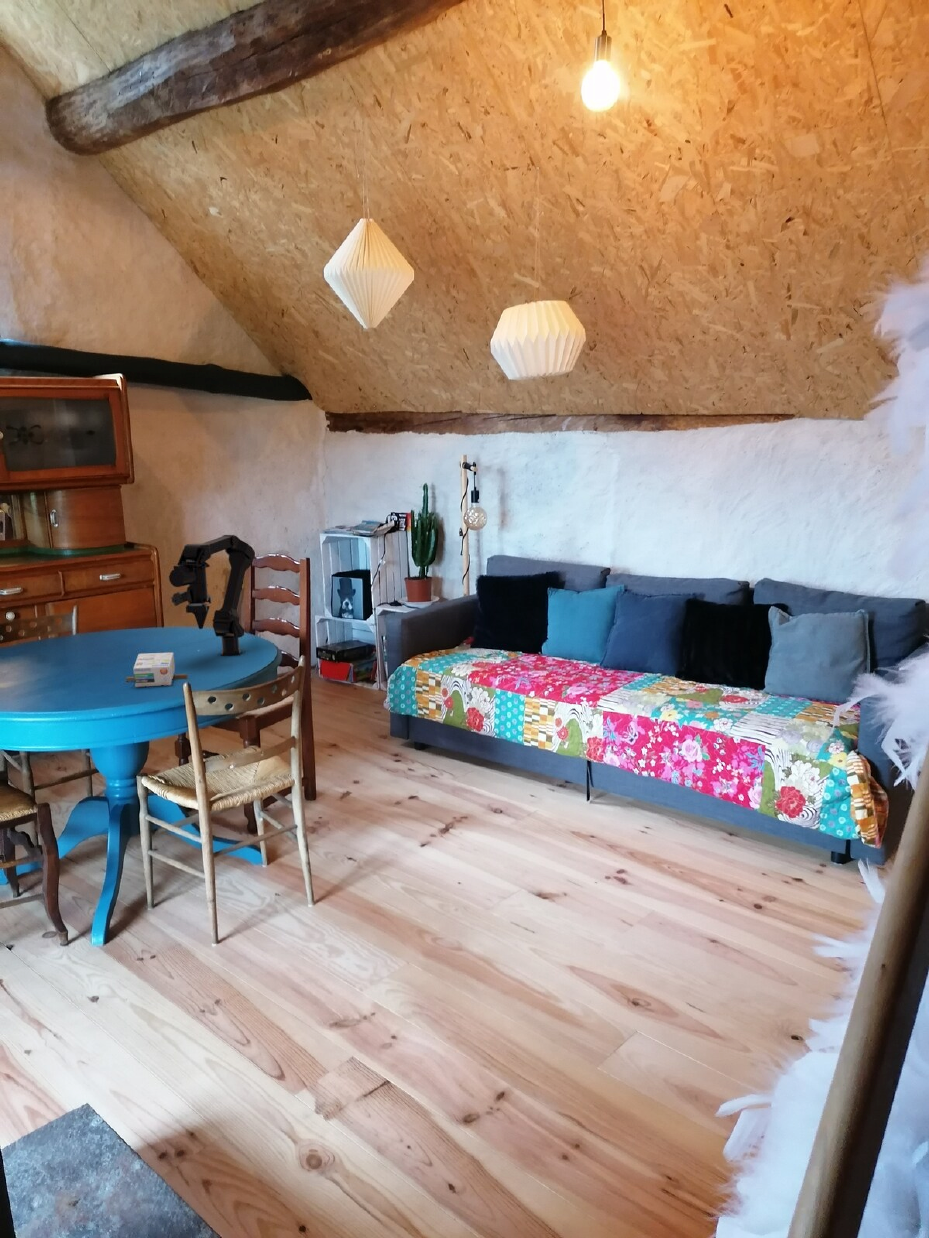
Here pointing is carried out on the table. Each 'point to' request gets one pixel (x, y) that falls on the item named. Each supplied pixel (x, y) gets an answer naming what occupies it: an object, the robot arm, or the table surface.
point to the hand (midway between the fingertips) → (200, 628)
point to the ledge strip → (175, 676)
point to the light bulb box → (154, 669)
